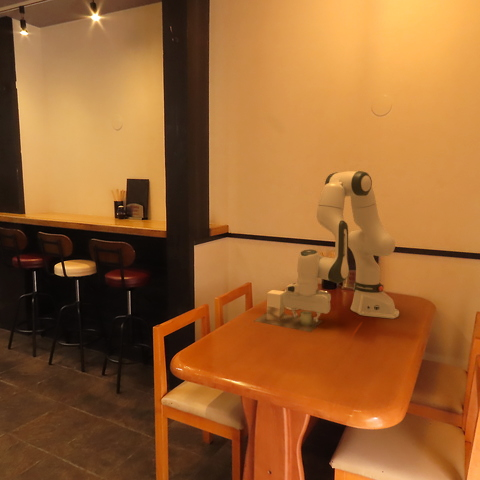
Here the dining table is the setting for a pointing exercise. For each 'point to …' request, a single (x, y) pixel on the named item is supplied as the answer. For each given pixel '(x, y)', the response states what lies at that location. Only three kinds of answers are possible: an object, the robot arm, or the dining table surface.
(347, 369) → the dining table surface
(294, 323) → the walnut board
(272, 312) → the tower base block
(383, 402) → the dining table surface
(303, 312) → the green cylinder
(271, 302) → the tower top block
